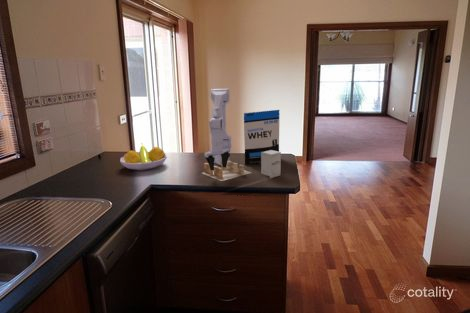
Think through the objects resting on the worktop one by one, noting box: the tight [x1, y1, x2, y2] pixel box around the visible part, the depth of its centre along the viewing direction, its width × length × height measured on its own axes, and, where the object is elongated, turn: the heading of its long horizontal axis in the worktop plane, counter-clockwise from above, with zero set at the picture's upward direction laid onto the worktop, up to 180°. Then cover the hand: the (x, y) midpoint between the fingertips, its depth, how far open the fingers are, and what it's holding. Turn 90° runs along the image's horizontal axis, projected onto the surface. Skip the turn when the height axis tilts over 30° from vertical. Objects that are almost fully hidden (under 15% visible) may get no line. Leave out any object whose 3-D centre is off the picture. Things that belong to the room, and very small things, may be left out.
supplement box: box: [260, 150, 282, 179], centre depth 172 cm, size 7×7×13 cm
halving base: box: [201, 159, 253, 182], centre depth 177 cm, size 18×20×6 cm
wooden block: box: [203, 162, 223, 178], centre depth 174 cm, size 14×2×5 cm, turn 39°
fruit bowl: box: [119, 142, 168, 172], centre depth 196 cm, size 28×27×11 cm
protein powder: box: [243, 109, 280, 166], centre depth 196 cm, size 10×24×30 cm, turn 118°
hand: (218, 168), depth 170 cm, fingers open, 7 cm apart
